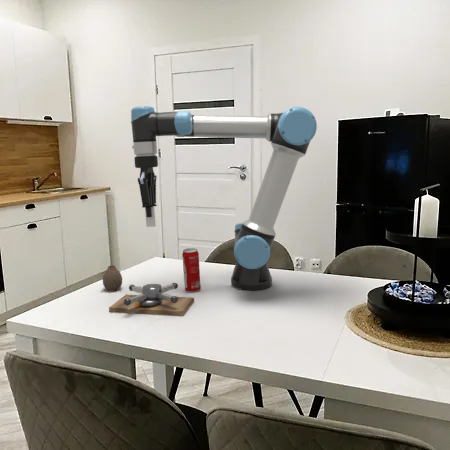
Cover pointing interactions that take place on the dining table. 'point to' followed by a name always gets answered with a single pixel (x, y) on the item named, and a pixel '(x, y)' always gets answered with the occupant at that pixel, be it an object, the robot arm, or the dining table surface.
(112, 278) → the vase
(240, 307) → the dining table surface
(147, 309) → the brown wooden board
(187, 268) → the beverage can
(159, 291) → the cam capstan
